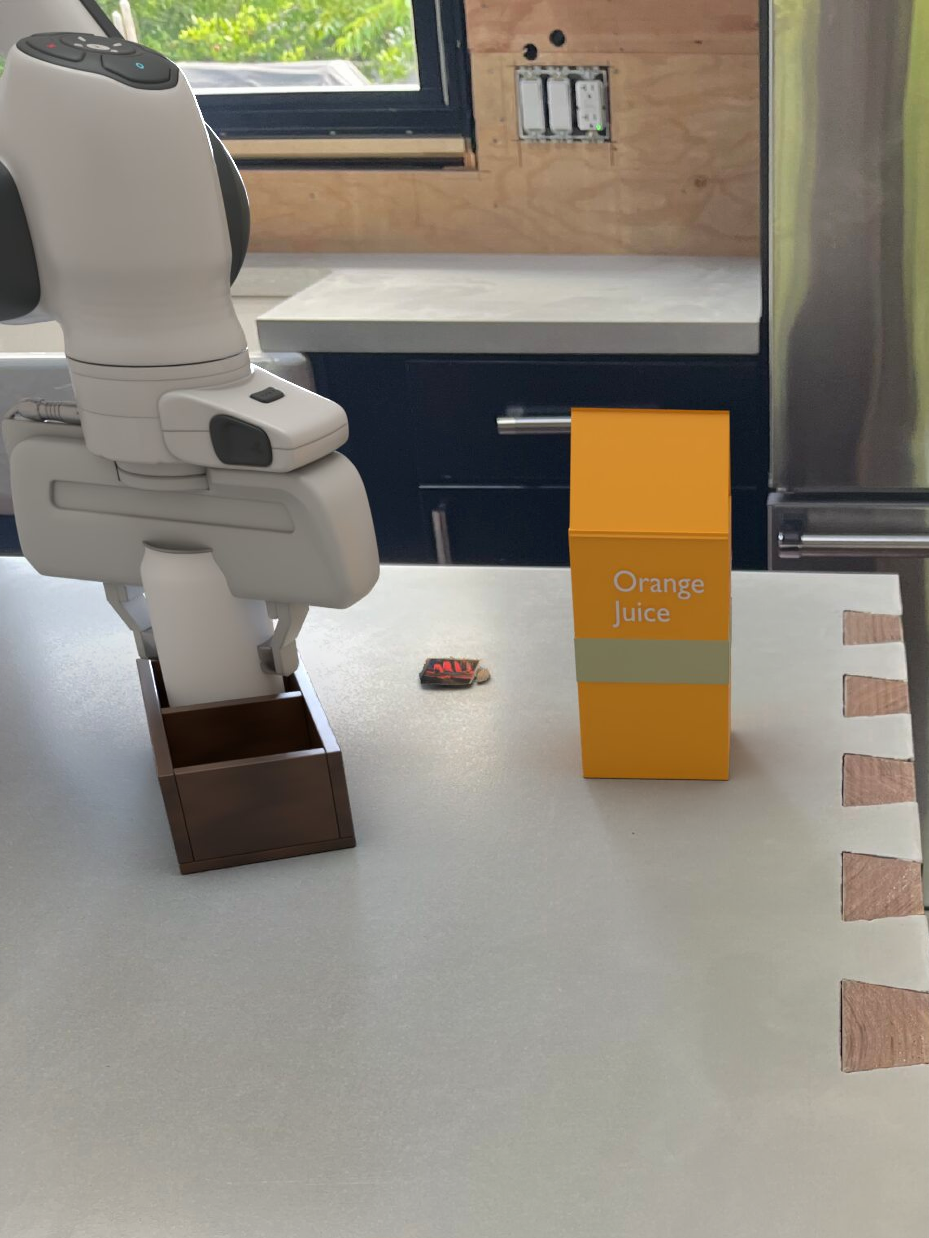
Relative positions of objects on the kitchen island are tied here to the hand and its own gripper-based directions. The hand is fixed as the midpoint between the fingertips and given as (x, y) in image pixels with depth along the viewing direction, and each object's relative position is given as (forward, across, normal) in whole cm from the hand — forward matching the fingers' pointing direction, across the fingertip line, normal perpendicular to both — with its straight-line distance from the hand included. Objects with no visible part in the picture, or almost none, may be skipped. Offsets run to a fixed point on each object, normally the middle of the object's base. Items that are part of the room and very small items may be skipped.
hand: (220, 664), depth 86 cm
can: (+5, 0, 0) cm, 5 cm away
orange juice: (+6, +24, +9) cm, 26 cm away
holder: (+6, +3, -3) cm, 8 cm away
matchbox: (+6, +7, +17) cm, 19 cm away
